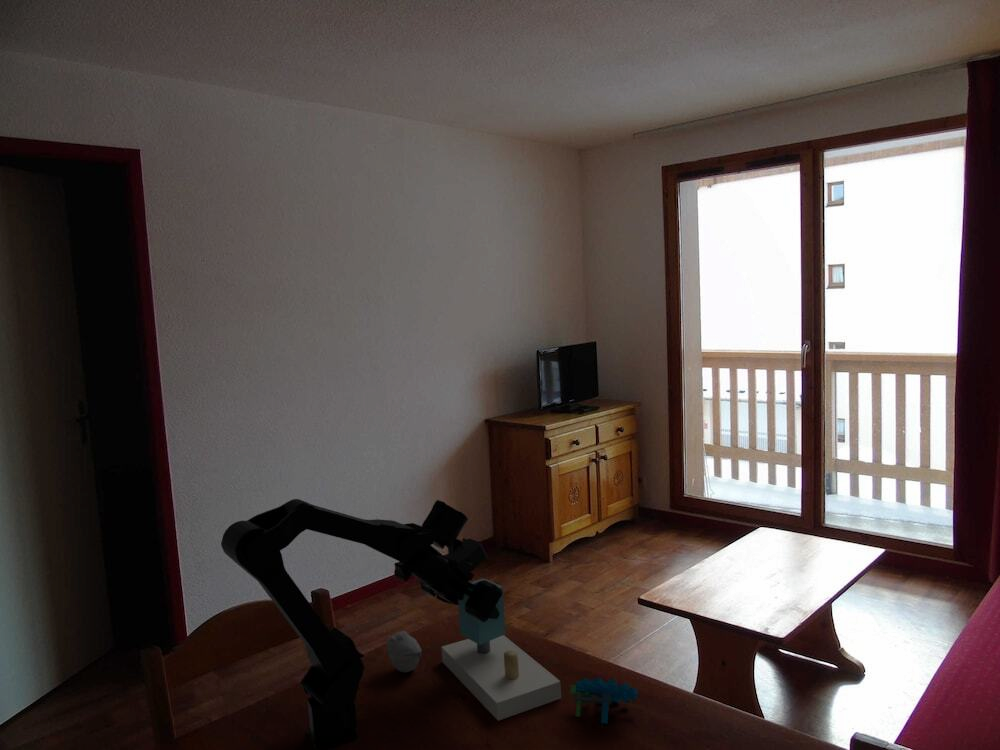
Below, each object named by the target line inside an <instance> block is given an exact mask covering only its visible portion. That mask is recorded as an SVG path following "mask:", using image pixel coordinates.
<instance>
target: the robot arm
mask: <svg viewBox="0 0 1000 750" xmlns="http://www.w3.org/2000/svg"><path fill="white" fill-rule="evenodd" d="M468 521H469V518H468V516H467V515H465V514H464V513H463V512H462V511H459V510H457V509H455V508H454V507H452V506H451V505H448V504H447V503H446V502H444V501H442V500H440V499H437V500H436V501H435V502H434V504H433V505H432V508H431V510H430V512H429V513H428V515H426V518H425V519H424V521H423V522H422V524H421V525H419V524H417V523H414V522H411V523H402V522H397V521H395V520H391V519H389V520H388V519H378V518H377V519H363V518H360V517H356V516H353V515H350V514H346V513H342V512H339V511H336V510H332V509H329V508H325V507H321V506H318V505H314V504H312V503H309V502H307V501H304V500H302V499H299V498H293V499H291V500H289V501H287V502H285V503H283V504H281V505H279V506H278V507H275V508H272V509H269V510H266V511H264V512H261V513H258V514H257V515H253V516H252V517H251V518H249V519H246V520H237V521H236V522H234V523H233V524H232V523H231V524H230V525H229V526H228V527H227V528H226V529H225V531H224V533H223V535H222V537H221V543H220V545H221V548H222V550H223V553H224V554H225V555H226V556H228V557H229V558H230V559H231V560H232V561H233V562H234V563H235V564H237V565H238V566H239V567H240V568H241V569H243V570H244V571H245V572H246V573H247V574H248V575H250V576H251V577H252V578H253V579H255V581H257V583H258V584H259V585H260V586H261V587H262V589H263V590H264V591H265V593H266V595H268V597H269V599H270V600H271V601H272V602H273V604H274V605H275V606H276V608H277V609H278V610H279V611H280V613H281V614H282V616H283V617H284V618H285V620H286V621H287V623H289V625H290V626H291V627H292V629H293V630H294V632H295V633H296V634H297V636H298V637H299V638H300V639H301V641H302V642H303V644H304V645H305V649H306V653H307V657H308V660H309V662H310V664H311V666H310V667H309V668H308V671H307V672H306V673H305V675H304V676H303V677H302V680H300V683H299V684H300V686H301V688H302V690H303V692H304V694H306V695H308V696H309V698H307V708H308V720H309V727H307V732H308V735H309V737H310V739H311V742H312V744H313V745H314V749H315V750H324V749H327V748H331V747H333V746H336V745H339V744H342V743H345V742H348V741H351V740H354V739H357V738H358V733H357V731H356V728H357V727H358V722H357V709H356V702H355V701H356V698H357V693H358V688H359V685H360V684H359V683H360V682H361V679H362V678H363V674H364V671H365V663H364V662H363V660H362V658H364V657H365V654H363V653H362V652H360V651H359V650H358V649H357V647H356V645H355V642H354V641H353V639H352V638H351V637H350V636H349V635H347V634H345V633H344V632H343V631H342V630H340V629H338V628H337V627H336V626H334V627H333V628H332V629H331V630H329V628H328V627H327V625H326V623H324V621H323V620H322V618H321V617H320V616H319V614H318V613H317V612H316V610H315V609H314V608H313V606H312V605H311V603H310V602H309V601H308V599H307V598H306V596H305V595H304V594H303V592H302V591H301V590H300V587H298V586H297V584H296V582H295V581H294V580H293V578H292V577H291V575H290V574H289V573H288V571H287V570H286V566H285V563H284V558H283V555H282V552H281V551H282V550H284V549H285V548H287V547H288V546H290V544H291V543H292V542H293V541H294V540H296V538H297V537H298V536H299V535H300V534H301V533H303V532H305V531H307V530H308V531H312V532H315V533H320V534H324V535H327V536H331V537H336V538H339V539H343V540H347V541H351V542H354V543H358V544H360V545H362V544H363V545H364V546H367V547H369V548H370V549H373V550H374V551H377V552H379V553H381V555H382V554H383V555H385V556H387V557H389V558H391V559H393V560H396V561H398V562H394V564H393V566H394V572H393V575H394V578H397V579H399V580H401V581H403V582H407V581H408V580H409V579H410V577H411V575H412V576H414V577H415V578H416V579H417V580H420V589H421V591H423V592H424V593H426V594H427V595H429V596H431V597H433V598H436V599H437V600H438V601H441V602H442V603H445V604H451V605H455V606H458V600H460V601H462V600H463V599H464V596H463V595H465V596H467V597H469V598H468V600H467V602H466V603H465V612H467V613H468V615H470V616H472V617H474V618H476V619H478V620H480V621H482V622H485V621H487V620H488V618H490V619H498V617H499V615H500V613H499V611H498V609H497V608H496V604H497V603H498V601H499V599H500V597H501V596H502V590H501V589H500V588H499V587H498V586H496V585H495V584H496V583H495V584H492V583H490V582H488V581H489V580H488V581H485V580H483V581H480V582H478V583H477V585H474V584H472V583H471V581H472V580H473V579H474V577H475V574H474V573H473V572H472V571H474V570H475V569H476V568H478V567H479V566H480V565H481V564H482V563H483V562H485V561H486V560H487V559H488V554H487V552H486V551H485V549H484V547H483V544H482V543H481V542H480V541H478V540H475V539H472V538H462V540H461V539H459V538H458V537H459V535H460V534H461V532H462V530H463V529H464V527H465V525H466V524H467V522H468ZM432 545H433V546H435V547H436V548H439V549H441V550H444V548H445V547H446V548H447V551H448V556H446V555H443V553H441V552H440V551H439V550H437V549H436V548H435V547H433V546H432ZM467 588H469V589H470V590H469V589H467ZM472 590H473V591H472Z"/></svg>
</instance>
